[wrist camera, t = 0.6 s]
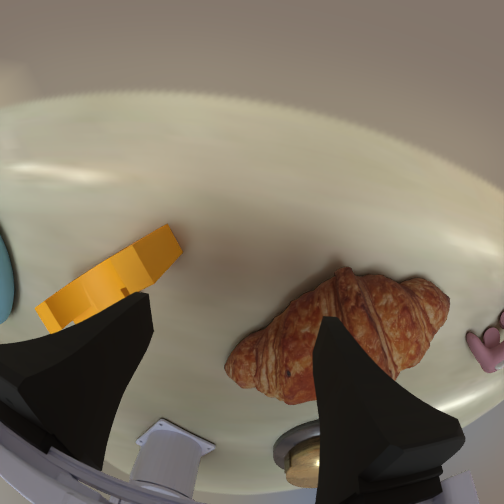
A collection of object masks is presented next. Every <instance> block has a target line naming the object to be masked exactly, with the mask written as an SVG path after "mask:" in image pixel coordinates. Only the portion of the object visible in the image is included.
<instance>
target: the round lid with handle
mask: <svg viewBox="0 0 504 504" xmlns="http://www.w3.org/2000/svg"><path fill="white" fill-rule="evenodd" d="M319 454H320V436H319V437H315V438H312V439H309V440H306V441H304V442H302V443H300V444H298V445H296V446H295V447H293V448H292V449H291V450H290V451H289V452H288V453H287V455H286V456H285V458H284V469H285V473H286V479H287V481H288V482H289V483H290V484H292V485H295V486H298V487H303V488H317V486H318V473H319Z"/></svg>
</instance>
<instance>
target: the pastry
mask: <svg viewBox="0 0 504 504" xmlns="http://www.w3.org/2000/svg"><path fill="white" fill-rule="evenodd" d="M334 274H335V276H334V277H332V278H331V279H329V280H326V281H325V282H323V283H322V284H320V285H319V286H318V287H317V288H316V289H315V290H314V291H309V292H306V293H305V294H303V295H302V296H300V297H299V298H298V299H296V300H293V301H291V302H290V303H291V304H290V305H289V306H288V307H287V309H286V310H285V311H284V312H283V313H281V314H280V315H279V316H277V317H275V318H274V319H273V321H272V323H270V324H269V325H268V327H267V328H265V329H263V330H260V331H258V332H255V333H252V334H250V335H249V336H248V337H246V338H245V339H243V340H242V341H241V342H240V343H239V344H238V345H237V346H236V348H235V349H234V350H233V351H232V353H231V355H230V356H229V357H228V360H227V362H226V364H225V366H224V369H225V371H226V373H227V375H228V376H229V377H230V378H231V379H233V380H234V381H235V382H236V383H237V384H238V385H239V386H240V387H241V388H254V387H256V389H257V390H258V391H260V392H262V393H264V394H265V395H266V396H268V397H276V398H277V399H278V400H280V401H284V402H285V403H286V404H288V405H295V404H300V403H304V402H307V401H313V400H317V399H316V393H315V386H314V379H313V361H312V352H313V349H314V346H315V342H316V339H317V335H318V332H319V328H320V325H321V321H322V318H323V316H331V317H338V318H339V320H340V321H341V322H342V323H343V325H344V326H345V327H346V328H347V330H348V331H349V332H350V334H351V335H352V336H353V337H354V339H355V340H356V341H357V342H358V344H359V345H360V346H361V347H362V348H363V350H364V351H365V352H366V353H367V354H368V355H369V356H370V357H371V358H372V360H373V361H374V362H375V363H376V364H377V365H378V366H379V367H380V368H381V369H382V370H383V371H384V372H385V373H386V374H388V375H389V376H390V377H391V378H392V379H393V380H394V381H395V380H396V378H397V376H398V375H399V373H400V371H402V370H404V369H406V368H411V367H414V366H415V365H416V364H418V363H419V362H420V361H421V359H422V358H423V356H424V355H425V353H426V351H427V350H428V349H429V347H430V342H431V340H432V339H433V337H434V335H435V334H436V333H437V331H438V330H439V329H440V327H441V326H443V324H444V323H445V321H446V320H447V315H448V312H449V308H450V298H449V297H448V296H447V295H446V294H444V293H443V292H442V291H441V290H440V289H439V288H438V287H436V286H435V284H433V283H432V282H431V281H427V280H425V279H421V278H413V279H410V280H408V281H404V282H401V283H397V282H395V281H393V280H392V279H389V278H386V277H384V275H379V274H378V275H371V274H367V275H365V276H361V277H359V276H355V275H354V273H353V271H352V269H351V268H350V267H343V268H339V269H338V270H336V271H335V272H334Z"/></svg>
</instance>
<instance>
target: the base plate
mask: <svg viewBox="0 0 504 504" xmlns="http://www.w3.org/2000/svg"><path fill="white" fill-rule="evenodd" d="M319 436H320V423H319V420H315V421H311V422H308V423H305V424H302V425H300V426H297V427H295V428H293V429H291V430H289V431H288V432H286V433H285V434H283V435H282V436H281V437H280V438H279V439H278V440H277V441H276V443H275V445H274V448H273V458H274V461H275V463H276V464H277V465H278V466H279V467H280V468H282V469H284V458H285V456H286V455H287V453H288V452H289V451H290V450H291V449H292V448H293V447H295V446H296V445H298V444H300V443H302V442H304V441H306V440H309V439H312V438H315V437H319ZM284 470H285V469H284Z"/></svg>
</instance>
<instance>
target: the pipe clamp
mask: <svg viewBox="0 0 504 504" xmlns="http://www.w3.org/2000/svg"><path fill="white" fill-rule="evenodd" d="M182 253H183V251H182V250H181V248H180V246H179V244H178V242H177V240H176V239H175V237H174V235H173V233H172V231H171V229H170V227H169V225H168V224H166V225H164V226H162V227H160V228H159V229H157V230H155V231H153V232H152V233H150V234H148V235H146V236H145V237H143V238H141V239H140V240H138V241H136V242H134V243H133V244H131V245H129V246H128V247H126V248H124V249H123V250H121V251H119V252H118V253H116V254H114V255H113V256H111V257H110V258H108V259H106V260H105V261H103V262H102V263H100V264H98V265H97V266H95V267H94V268H92V269H90V270H89V271H87V272H86V273H84V274H83V275H81V276H80V277H78V278H77V279H75V280H74V281H72V282H71V283H69V284H68V285H66V286H65V287H63V288H62V289H60V290H59V291H58V292H56V293H55V294H53V295H52V296H51V297H49V298H48V299H46V300H45V301H44V302H42V303H41V304H40V305H38V306H37V307H35V310H36V312H37V313H38V315H39V317H40V318H41V320H42V322H43V323H44V325H45V326H46V328H47V329H48V331H49V332H50V334H52V333H55V332H58V331H60V330H62V329H63V328H64V327H65V326H66V325H68V324H69V323H70V322H71V321H72V320H73V321H74V323H75V324H77V323H80V322H82V321H83V320H85V319H87V318H89V317H91V316H93V315H95V314H97V313H99V312H100V311H102V310H104V309H106V308H107V307H109V306H111V305H113V304H114V303H116V302H118V301H120V300H121V299H123V298H125V297H127V296H128V295H130V294H132V293H134V292H139V291H140V290H142V289H144V288H146V287H149V286H151V285H153V284H154V283H155V282H156V281H157V280H158V279H159V278H160V277H161V276H162V275H163V274H164V272H165V271H166V270H167V269H168V268H169V267H170V266H171V265H172V264H173V263H174V262H175V261H176V260H177V258H178V257H179V256H180V255H181V254H182Z"/></svg>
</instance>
